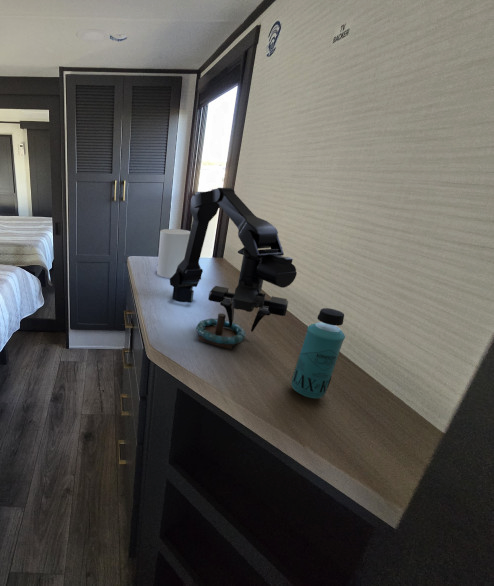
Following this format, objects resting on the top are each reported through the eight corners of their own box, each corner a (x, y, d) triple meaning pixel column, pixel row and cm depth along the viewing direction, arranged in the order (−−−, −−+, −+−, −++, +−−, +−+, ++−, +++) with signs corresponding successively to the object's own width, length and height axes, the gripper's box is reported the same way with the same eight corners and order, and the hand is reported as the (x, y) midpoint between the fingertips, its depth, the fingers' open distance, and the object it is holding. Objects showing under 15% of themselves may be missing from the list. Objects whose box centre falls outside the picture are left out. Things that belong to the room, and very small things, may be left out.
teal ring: (190, 337, 88) (191, 330, 87) (203, 319, 98) (204, 314, 97) (239, 350, 81) (241, 343, 80) (247, 330, 92) (249, 324, 91)
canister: (151, 271, 150) (154, 229, 143) (174, 268, 155) (179, 228, 148) (167, 280, 138) (171, 235, 131) (192, 276, 144) (197, 233, 136)
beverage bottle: (282, 385, 70) (304, 304, 63) (309, 384, 71) (335, 304, 64) (301, 406, 64) (328, 318, 57) (331, 404, 65) (362, 317, 58)
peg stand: (198, 340, 89) (201, 316, 86) (206, 328, 96) (209, 305, 93) (231, 349, 84) (235, 324, 82) (237, 336, 92) (241, 312, 89)
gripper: (207, 276, 78) (199, 331, 84) (292, 291, 69) (276, 351, 75) (217, 265, 87) (209, 316, 93) (294, 277, 78) (280, 333, 84)
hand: (241, 328), depth 86 cm, fingers open, 5 cm apart
